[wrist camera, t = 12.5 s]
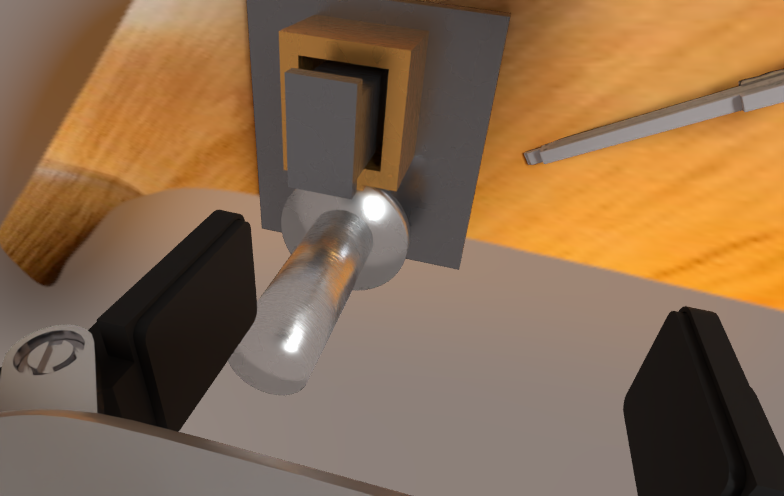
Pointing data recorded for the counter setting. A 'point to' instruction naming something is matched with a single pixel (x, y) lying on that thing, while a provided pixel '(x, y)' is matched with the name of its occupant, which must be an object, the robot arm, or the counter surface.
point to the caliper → (668, 118)
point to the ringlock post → (382, 173)
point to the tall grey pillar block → (333, 125)
